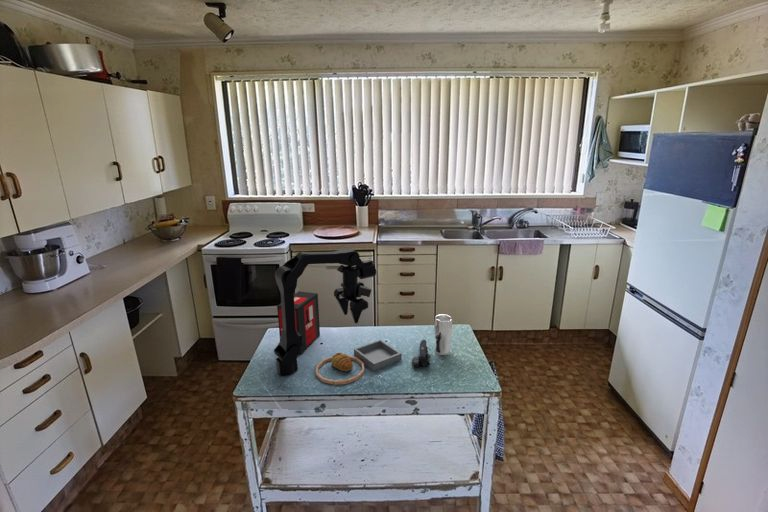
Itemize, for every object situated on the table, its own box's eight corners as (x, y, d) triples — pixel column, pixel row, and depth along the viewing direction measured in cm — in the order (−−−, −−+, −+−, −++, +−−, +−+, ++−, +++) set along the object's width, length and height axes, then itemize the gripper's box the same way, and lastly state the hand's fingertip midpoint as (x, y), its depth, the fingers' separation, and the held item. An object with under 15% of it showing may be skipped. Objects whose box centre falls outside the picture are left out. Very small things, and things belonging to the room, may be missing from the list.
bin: (374, 371, 142) (374, 364, 141) (354, 355, 153) (353, 348, 152) (401, 360, 149) (401, 353, 148) (380, 346, 160) (380, 339, 159)
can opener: (429, 371, 142) (430, 357, 141) (410, 369, 144) (411, 355, 142) (433, 347, 159) (433, 335, 158) (416, 346, 160) (416, 333, 159)
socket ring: (330, 390, 131) (330, 387, 131) (308, 367, 145) (307, 364, 144) (373, 373, 141) (373, 370, 141) (348, 353, 154) (348, 350, 154)
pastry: (357, 368, 143) (358, 359, 142) (342, 374, 139) (342, 365, 138) (343, 358, 150) (343, 349, 149) (328, 364, 146) (328, 355, 145)
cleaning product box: (301, 334, 171) (298, 291, 166) (320, 336, 168) (317, 293, 163) (281, 352, 156) (277, 305, 150) (300, 355, 153) (297, 308, 148)
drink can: (454, 355, 153) (456, 319, 149) (438, 358, 150) (440, 322, 146) (445, 347, 159) (446, 313, 155) (430, 350, 157) (431, 315, 153)
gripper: (380, 284, 146) (380, 323, 150) (357, 271, 161) (358, 306, 165) (353, 289, 140) (354, 329, 144) (332, 276, 155) (334, 312, 160)
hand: (350, 318), depth 153 cm, fingers open, 9 cm apart
